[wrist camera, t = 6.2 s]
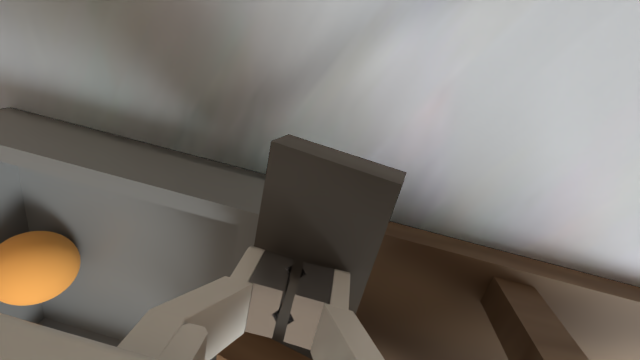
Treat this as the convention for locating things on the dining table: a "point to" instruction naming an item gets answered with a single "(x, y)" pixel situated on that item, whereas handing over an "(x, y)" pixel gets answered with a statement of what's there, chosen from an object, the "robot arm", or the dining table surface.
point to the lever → (318, 226)
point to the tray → (121, 219)
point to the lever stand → (491, 304)
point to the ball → (36, 267)
